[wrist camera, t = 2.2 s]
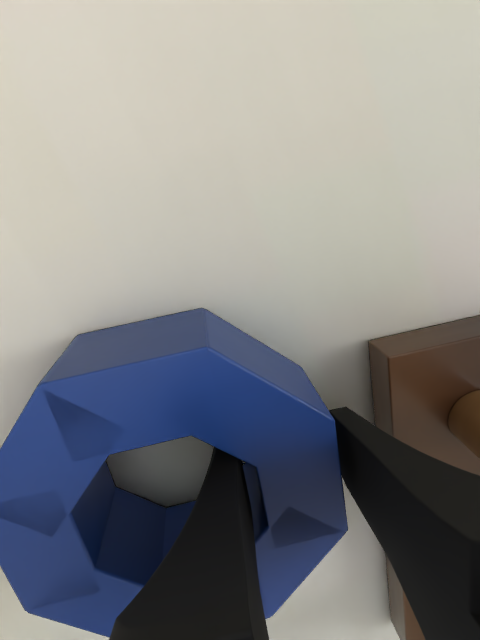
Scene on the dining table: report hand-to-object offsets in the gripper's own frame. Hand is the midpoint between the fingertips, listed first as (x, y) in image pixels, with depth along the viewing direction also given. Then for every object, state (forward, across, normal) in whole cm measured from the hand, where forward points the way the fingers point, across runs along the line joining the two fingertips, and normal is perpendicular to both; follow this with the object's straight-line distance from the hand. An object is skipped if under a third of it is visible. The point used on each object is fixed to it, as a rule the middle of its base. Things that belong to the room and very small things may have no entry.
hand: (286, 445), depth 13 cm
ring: (+1, +4, 0) cm, 4 cm away
